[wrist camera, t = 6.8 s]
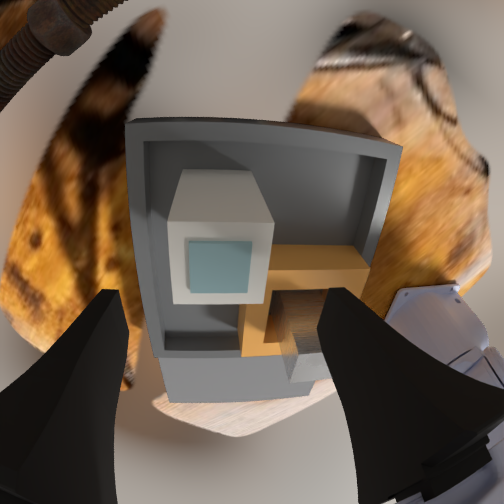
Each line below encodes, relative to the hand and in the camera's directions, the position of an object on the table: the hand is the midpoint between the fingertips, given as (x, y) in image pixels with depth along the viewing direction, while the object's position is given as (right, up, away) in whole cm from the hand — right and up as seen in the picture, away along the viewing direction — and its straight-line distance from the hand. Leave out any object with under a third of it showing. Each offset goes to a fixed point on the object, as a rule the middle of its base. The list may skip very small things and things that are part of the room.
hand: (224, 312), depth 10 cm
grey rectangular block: (+4, -1, +13) cm, 13 cm away
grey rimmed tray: (+1, +2, +11) cm, 12 cm away
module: (-1, +5, +8) cm, 10 cm away
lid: (0, -10, +19) cm, 21 cm away
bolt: (-12, +14, +2) cm, 19 cm away
